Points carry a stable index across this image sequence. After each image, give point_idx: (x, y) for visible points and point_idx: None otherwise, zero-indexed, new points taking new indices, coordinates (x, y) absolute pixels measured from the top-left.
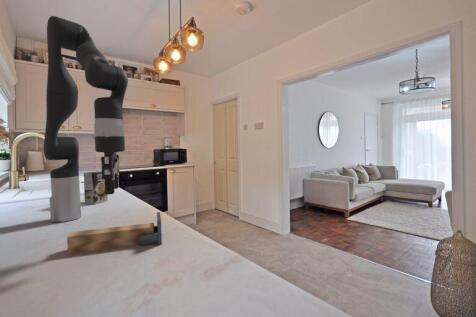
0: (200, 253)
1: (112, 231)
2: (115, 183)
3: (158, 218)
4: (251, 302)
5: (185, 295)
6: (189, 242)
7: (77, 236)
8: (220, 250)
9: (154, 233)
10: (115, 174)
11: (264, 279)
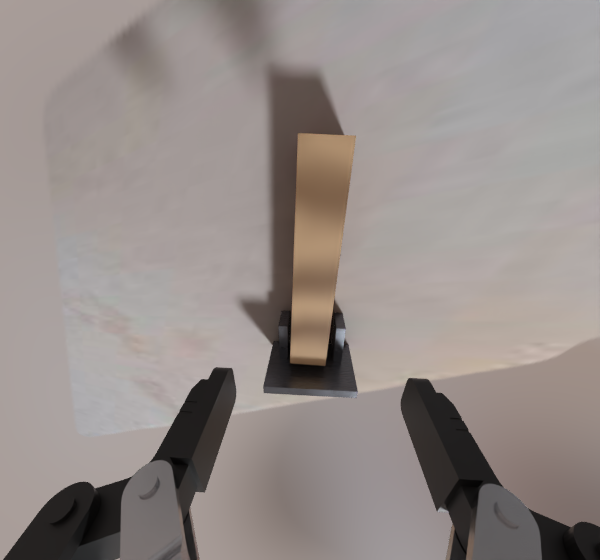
0: None
1: (294, 275)
2: (417, 432)
3: (290, 390)
4: (88, 401)
5: (99, 355)
6: None
7: (297, 171)
8: None
9: (282, 353)
10: (460, 535)
11: (130, 423)
